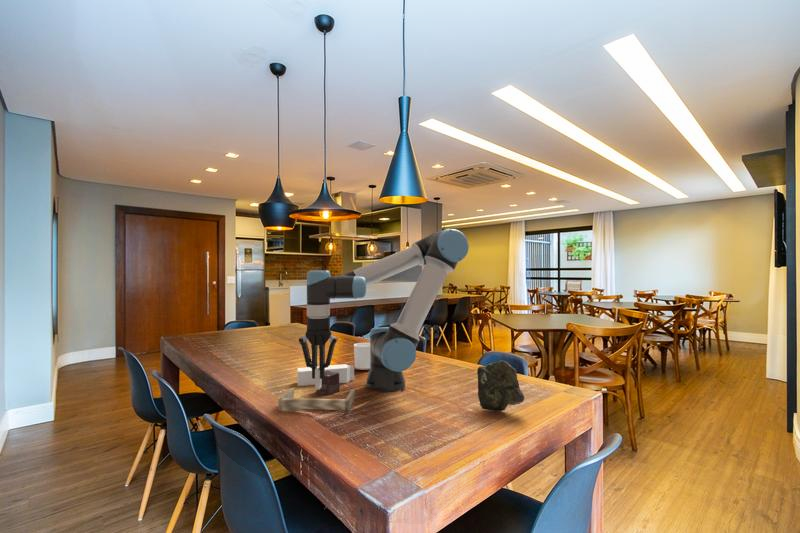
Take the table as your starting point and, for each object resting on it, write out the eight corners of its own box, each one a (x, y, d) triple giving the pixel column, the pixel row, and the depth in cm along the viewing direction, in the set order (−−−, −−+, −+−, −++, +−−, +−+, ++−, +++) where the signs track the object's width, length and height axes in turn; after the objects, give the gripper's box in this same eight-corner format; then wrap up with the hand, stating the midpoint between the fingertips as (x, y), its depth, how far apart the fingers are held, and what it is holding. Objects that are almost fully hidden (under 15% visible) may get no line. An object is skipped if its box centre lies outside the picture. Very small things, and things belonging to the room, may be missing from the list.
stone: (474, 411, 121) (473, 364, 121) (481, 401, 130) (481, 356, 130) (522, 419, 115) (522, 368, 115) (526, 407, 124) (526, 360, 124)
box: (339, 392, 140) (339, 372, 140) (328, 397, 135) (328, 376, 135) (327, 389, 143) (327, 370, 143) (315, 394, 138) (315, 374, 138)
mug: (351, 369, 171) (351, 346, 170) (357, 364, 179) (356, 342, 179) (375, 370, 169) (375, 347, 169) (380, 365, 178) (379, 343, 177)
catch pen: (355, 400, 131) (355, 388, 131) (348, 413, 120) (348, 400, 120) (290, 399, 133) (290, 388, 133) (278, 412, 121) (278, 399, 121)
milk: (297, 367, 152) (352, 363, 158) (297, 383, 152) (353, 377, 158) (297, 371, 146) (355, 366, 152) (297, 387, 146) (355, 382, 152)
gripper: (340, 315, 131) (340, 385, 131) (302, 315, 131) (302, 384, 131) (335, 318, 123) (335, 392, 123) (295, 318, 124) (295, 391, 124)
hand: (318, 388), depth 127 cm, fingers closed
